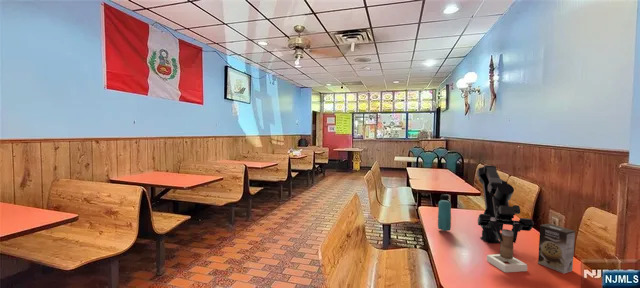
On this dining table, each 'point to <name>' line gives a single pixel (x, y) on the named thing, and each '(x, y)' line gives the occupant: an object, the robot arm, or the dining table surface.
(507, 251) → the pepper mill
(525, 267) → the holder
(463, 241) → the dining table surface
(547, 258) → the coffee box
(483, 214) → the robot arm
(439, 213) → the beverage bottle
